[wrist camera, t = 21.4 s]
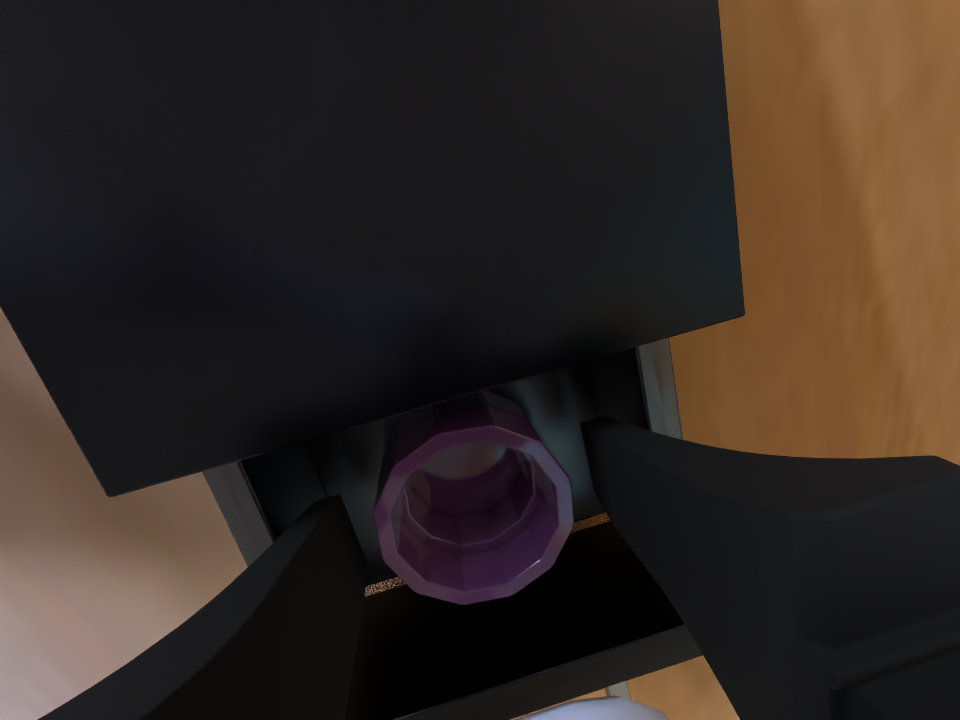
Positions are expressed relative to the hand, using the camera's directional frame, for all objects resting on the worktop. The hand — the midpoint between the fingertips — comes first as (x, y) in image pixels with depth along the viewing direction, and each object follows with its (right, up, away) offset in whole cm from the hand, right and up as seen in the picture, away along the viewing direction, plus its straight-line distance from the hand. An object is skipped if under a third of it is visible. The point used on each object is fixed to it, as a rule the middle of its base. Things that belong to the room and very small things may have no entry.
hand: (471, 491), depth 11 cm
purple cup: (0, 0, +2) cm, 2 cm away
